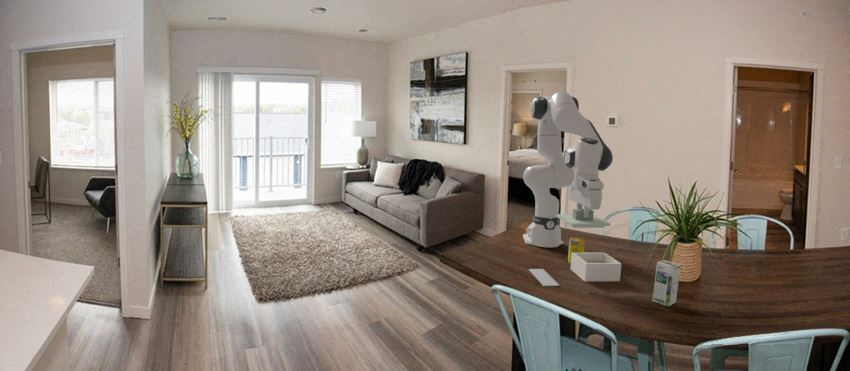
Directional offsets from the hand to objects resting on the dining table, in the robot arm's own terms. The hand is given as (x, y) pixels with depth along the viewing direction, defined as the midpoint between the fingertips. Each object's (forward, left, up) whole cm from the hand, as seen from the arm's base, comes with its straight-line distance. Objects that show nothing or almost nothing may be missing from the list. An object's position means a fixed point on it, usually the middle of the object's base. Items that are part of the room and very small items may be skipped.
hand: (582, 215), depth 186 cm
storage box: (0, +7, -25) cm, 26 cm away
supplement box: (-16, +6, -25) cm, 31 cm away
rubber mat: (0, -9, -25) cm, 27 cm away
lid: (0, 0, -2) cm, 2 cm away
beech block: (-2, +9, -24) cm, 26 cm away
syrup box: (+25, +21, -25) cm, 41 cm away
